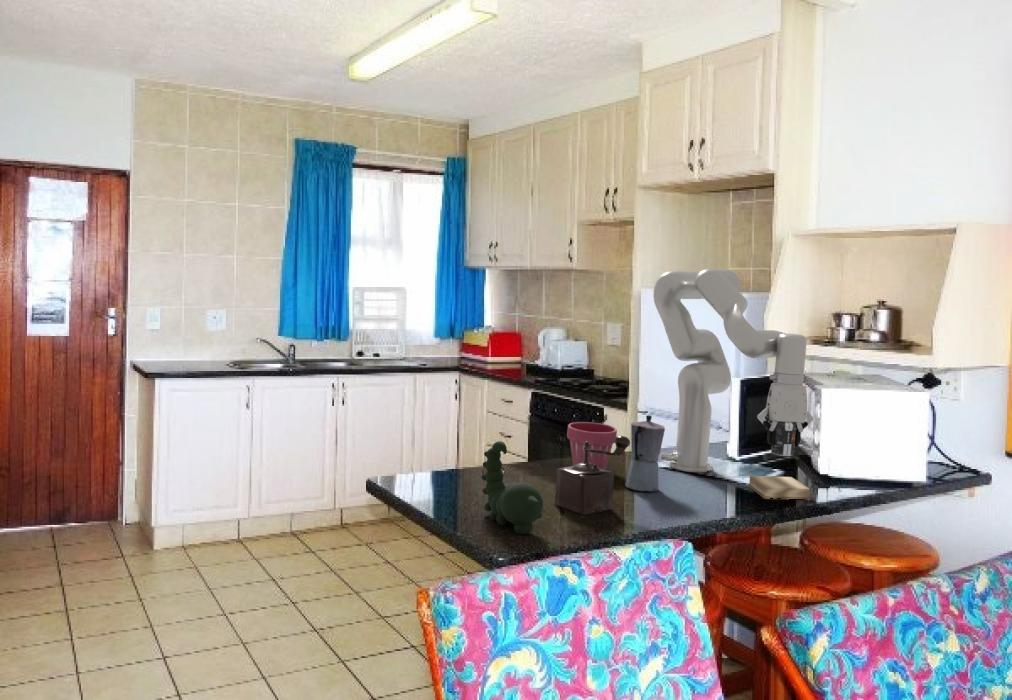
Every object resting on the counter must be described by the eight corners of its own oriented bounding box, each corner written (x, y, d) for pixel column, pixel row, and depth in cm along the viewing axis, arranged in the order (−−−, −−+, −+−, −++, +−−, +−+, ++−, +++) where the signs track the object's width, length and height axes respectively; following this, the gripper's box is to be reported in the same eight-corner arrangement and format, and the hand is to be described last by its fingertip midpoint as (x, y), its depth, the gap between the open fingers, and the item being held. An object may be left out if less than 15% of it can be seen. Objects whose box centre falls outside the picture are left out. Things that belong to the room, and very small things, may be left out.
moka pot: (666, 485, 242) (672, 414, 239) (651, 498, 228) (656, 422, 225) (633, 480, 246) (638, 409, 243) (616, 492, 232) (621, 418, 229)
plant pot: (624, 473, 252) (627, 429, 251) (586, 478, 244) (589, 433, 243) (592, 462, 264) (595, 420, 263) (555, 466, 256) (557, 423, 255)
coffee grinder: (584, 516, 209) (589, 442, 207) (553, 504, 218) (557, 433, 216) (629, 507, 219) (634, 436, 217) (597, 496, 228) (602, 428, 225)
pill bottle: (795, 457, 235) (798, 415, 234) (772, 455, 236) (775, 413, 235) (792, 452, 241) (795, 412, 240) (770, 450, 242) (773, 410, 241)
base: (764, 498, 233) (765, 487, 233) (747, 485, 246) (748, 475, 246) (810, 500, 235) (811, 489, 234) (791, 487, 247) (791, 476, 247)
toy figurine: (471, 518, 209) (517, 543, 186) (472, 439, 208) (519, 454, 186) (507, 515, 213) (556, 539, 190) (508, 437, 212) (558, 452, 190)
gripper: (762, 380, 232) (757, 447, 234) (825, 382, 234) (819, 449, 236) (752, 376, 239) (747, 441, 241) (813, 378, 241) (807, 443, 243)
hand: (783, 444), depth 239 cm, fingers closed on pill bottle, 6 cm apart
